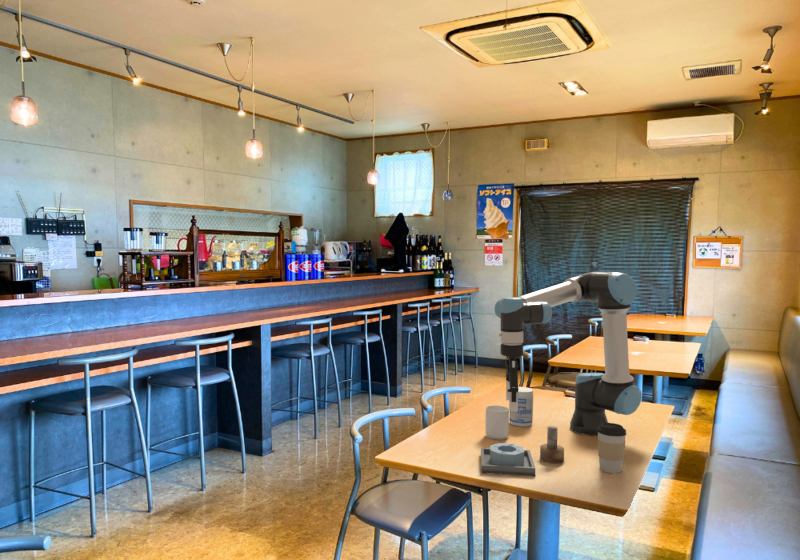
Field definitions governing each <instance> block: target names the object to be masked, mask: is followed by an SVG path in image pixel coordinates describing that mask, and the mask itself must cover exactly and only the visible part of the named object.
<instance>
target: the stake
mask: <svg viewBox="0 0 800 560" xmlns="http://www.w3.org/2000/svg"><path fill="white" fill-rule="evenodd" d="M546 429H547V431H546V432H547V433H546V434H547V435H546V439H547V440H546V443H544V444H541V445H540V446H539V448H540V449H539V459H540V460H541V461H543V462H544V463H545V462H546V463H549V464H550V463H551V464H561V463H563V462H564V461H565V447H564V446H562V445H560V444H558V430H559V429H558V426H554V425H548V426H547V428H546Z"/></svg>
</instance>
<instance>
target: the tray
mask: <svg viewBox="0 0 800 560" xmlns="http://www.w3.org/2000/svg"><path fill="white" fill-rule="evenodd" d="M480 465H481V466H480V467H481V474H488V473H494V474H493V475H507V474H508V475H511V476H525V477H526V476H527V477H528V476H529V477H536V465H535V462H534V459H533V457H532V452H531V450H530V449H524V465H523V466H503V465H493V464H491V463H490V447H480Z"/></svg>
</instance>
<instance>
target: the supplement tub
mask: <svg viewBox="0 0 800 560" xmlns="http://www.w3.org/2000/svg"><path fill="white" fill-rule="evenodd" d="M514 388H515V387H514ZM518 389H519V390H518V412H513V411H509V424H511V425H512V426H514V427H521V428H524V427H526V428H527V427H530V426H532V425H533V421H534V420H533V419H534V418H533V416H534V390H533V389H532V388H529V387H525V386H518Z"/></svg>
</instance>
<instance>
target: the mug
mask: <svg viewBox="0 0 800 560" xmlns="http://www.w3.org/2000/svg"><path fill="white" fill-rule="evenodd" d="M509 415H510V411H509V407H507V406H504V405H489V406H486V407H485V435H486V436H487V438H488V439H491V440H495V439H497V441H501V440H500V439H502V440H505V439H506V438H508V436H509V431H510V429H509V428H510V425H509V424H510V422H509Z"/></svg>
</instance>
